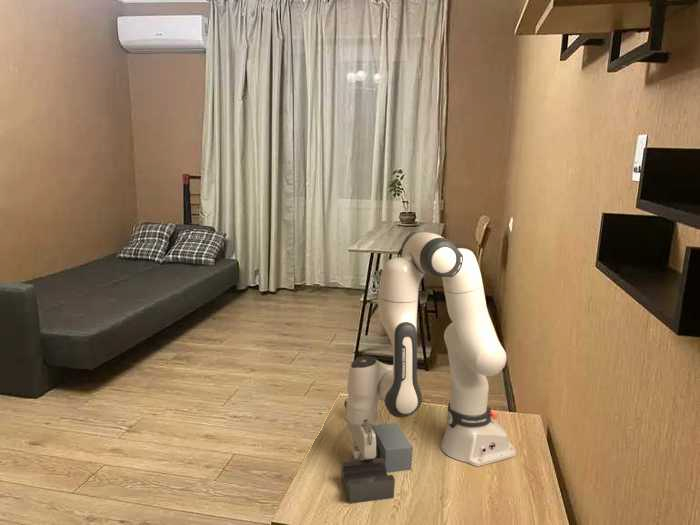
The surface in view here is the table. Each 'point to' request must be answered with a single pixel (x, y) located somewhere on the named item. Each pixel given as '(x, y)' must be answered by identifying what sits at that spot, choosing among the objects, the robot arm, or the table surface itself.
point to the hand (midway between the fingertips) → (359, 455)
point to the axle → (355, 453)
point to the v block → (366, 480)
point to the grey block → (393, 447)
